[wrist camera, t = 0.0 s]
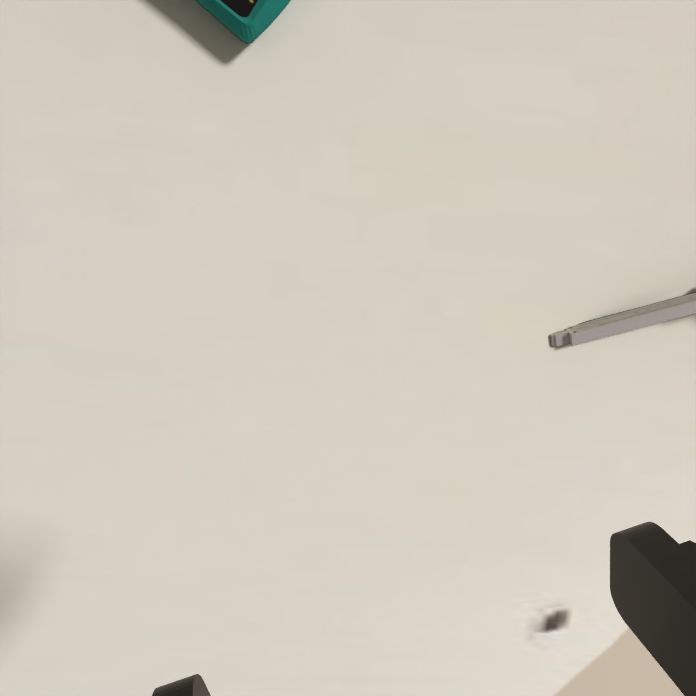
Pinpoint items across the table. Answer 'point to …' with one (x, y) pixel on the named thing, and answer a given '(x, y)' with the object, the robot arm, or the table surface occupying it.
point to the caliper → (626, 321)
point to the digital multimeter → (245, 15)
